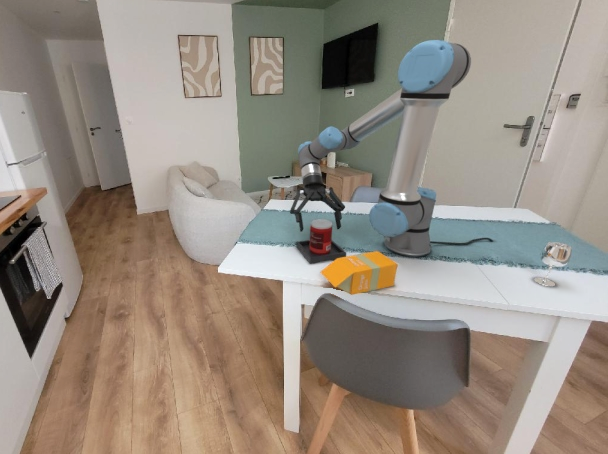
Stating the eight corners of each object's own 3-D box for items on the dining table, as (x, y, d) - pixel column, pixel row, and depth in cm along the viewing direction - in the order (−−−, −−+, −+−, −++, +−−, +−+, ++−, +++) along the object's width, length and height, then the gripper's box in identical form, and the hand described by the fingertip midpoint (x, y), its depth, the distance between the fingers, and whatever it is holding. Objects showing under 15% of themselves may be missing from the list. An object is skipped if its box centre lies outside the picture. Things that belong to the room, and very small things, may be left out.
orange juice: (393, 286, 87) (334, 299, 82) (374, 271, 95) (319, 282, 90) (398, 263, 84) (336, 275, 79) (377, 250, 92) (320, 260, 87)
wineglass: (525, 277, 88) (539, 241, 83) (543, 276, 88) (558, 240, 83) (545, 288, 82) (561, 251, 78) (564, 286, 83) (580, 249, 78)
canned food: (328, 245, 111) (330, 218, 107) (332, 255, 104) (334, 227, 100) (308, 245, 112) (309, 219, 108) (310, 255, 105) (311, 227, 100)
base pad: (328, 242, 115) (328, 237, 115) (345, 258, 103) (346, 252, 102) (296, 247, 113) (296, 241, 112) (310, 263, 101) (310, 258, 100)
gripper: (341, 182, 116) (351, 230, 108) (279, 185, 116) (285, 234, 108) (346, 171, 109) (358, 223, 101) (281, 175, 109) (287, 227, 101)
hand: (320, 229), depth 105 cm, fingers open, 13 cm apart
